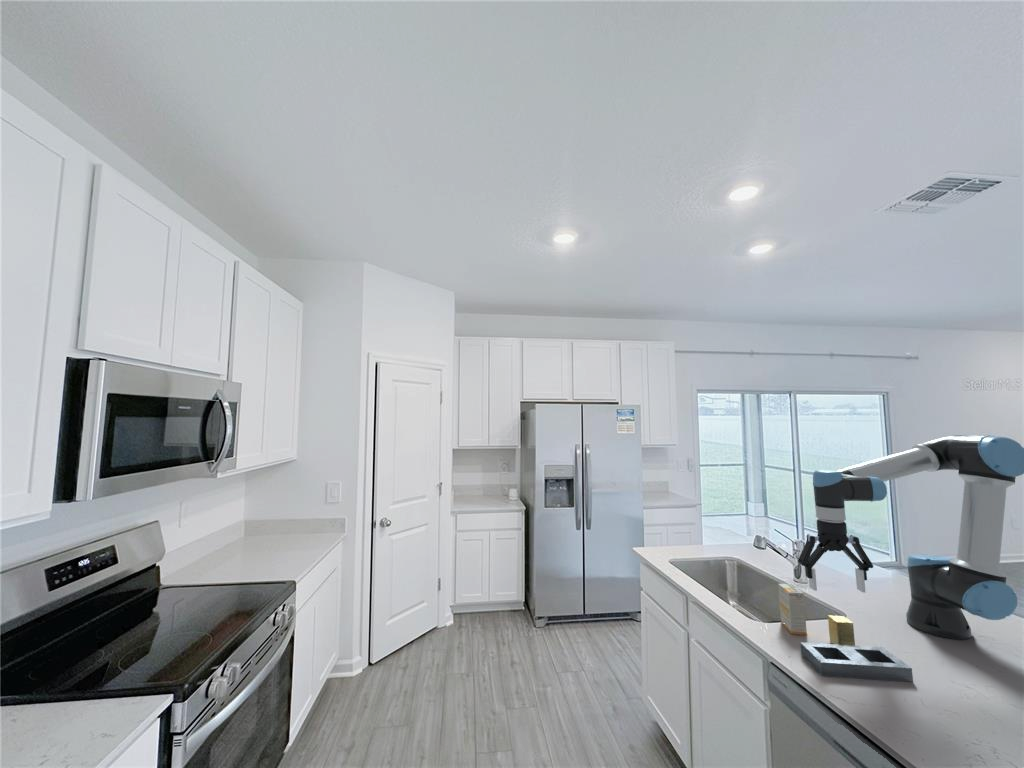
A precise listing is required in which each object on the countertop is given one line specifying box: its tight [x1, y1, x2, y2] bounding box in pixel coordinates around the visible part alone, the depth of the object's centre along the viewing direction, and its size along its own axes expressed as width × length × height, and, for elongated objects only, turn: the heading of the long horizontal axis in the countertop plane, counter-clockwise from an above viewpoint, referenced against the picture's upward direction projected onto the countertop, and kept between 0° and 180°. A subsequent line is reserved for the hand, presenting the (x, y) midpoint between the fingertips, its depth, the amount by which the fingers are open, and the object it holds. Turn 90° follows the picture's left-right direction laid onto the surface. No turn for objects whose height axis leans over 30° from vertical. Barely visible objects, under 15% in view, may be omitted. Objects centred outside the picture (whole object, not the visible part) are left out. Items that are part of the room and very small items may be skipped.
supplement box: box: [777, 583, 808, 636], centre depth 139 cm, size 8×5×13 cm, turn 168°
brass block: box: [827, 614, 856, 646], centre depth 128 cm, size 4×4×8 cm
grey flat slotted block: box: [799, 641, 914, 683], centre depth 117 cm, size 22×10×4 cm, turn 81°
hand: (837, 590), depth 129 cm, fingers open, 13 cm apart
